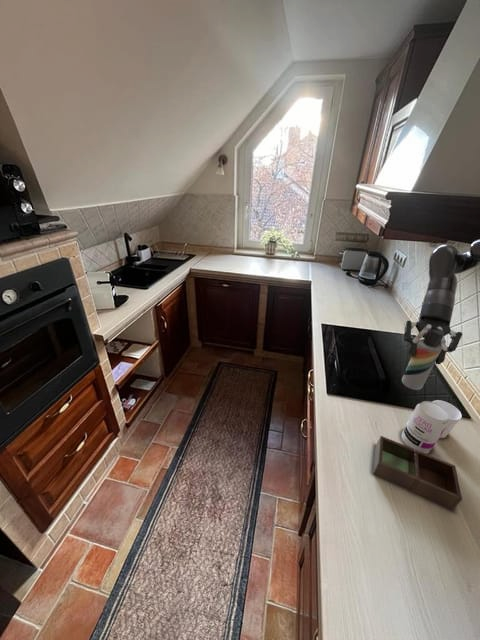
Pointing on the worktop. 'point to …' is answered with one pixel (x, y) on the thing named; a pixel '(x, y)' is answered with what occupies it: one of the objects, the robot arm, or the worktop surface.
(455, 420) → the white cup
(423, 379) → the lotion bottle
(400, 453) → the caddy
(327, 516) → the worktop surface
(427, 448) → the supplement can
